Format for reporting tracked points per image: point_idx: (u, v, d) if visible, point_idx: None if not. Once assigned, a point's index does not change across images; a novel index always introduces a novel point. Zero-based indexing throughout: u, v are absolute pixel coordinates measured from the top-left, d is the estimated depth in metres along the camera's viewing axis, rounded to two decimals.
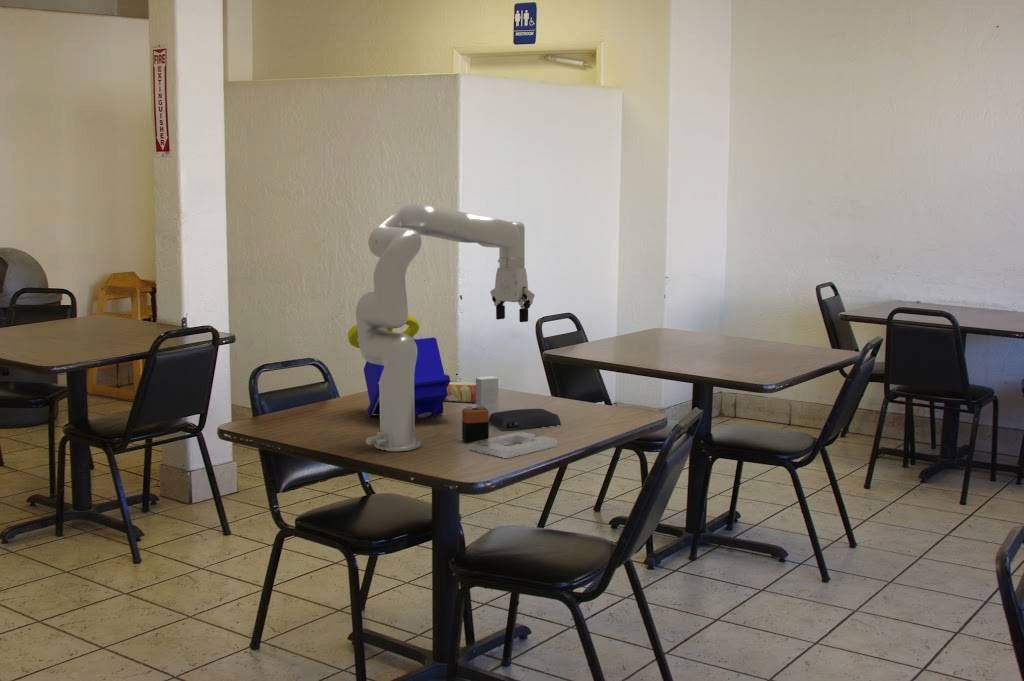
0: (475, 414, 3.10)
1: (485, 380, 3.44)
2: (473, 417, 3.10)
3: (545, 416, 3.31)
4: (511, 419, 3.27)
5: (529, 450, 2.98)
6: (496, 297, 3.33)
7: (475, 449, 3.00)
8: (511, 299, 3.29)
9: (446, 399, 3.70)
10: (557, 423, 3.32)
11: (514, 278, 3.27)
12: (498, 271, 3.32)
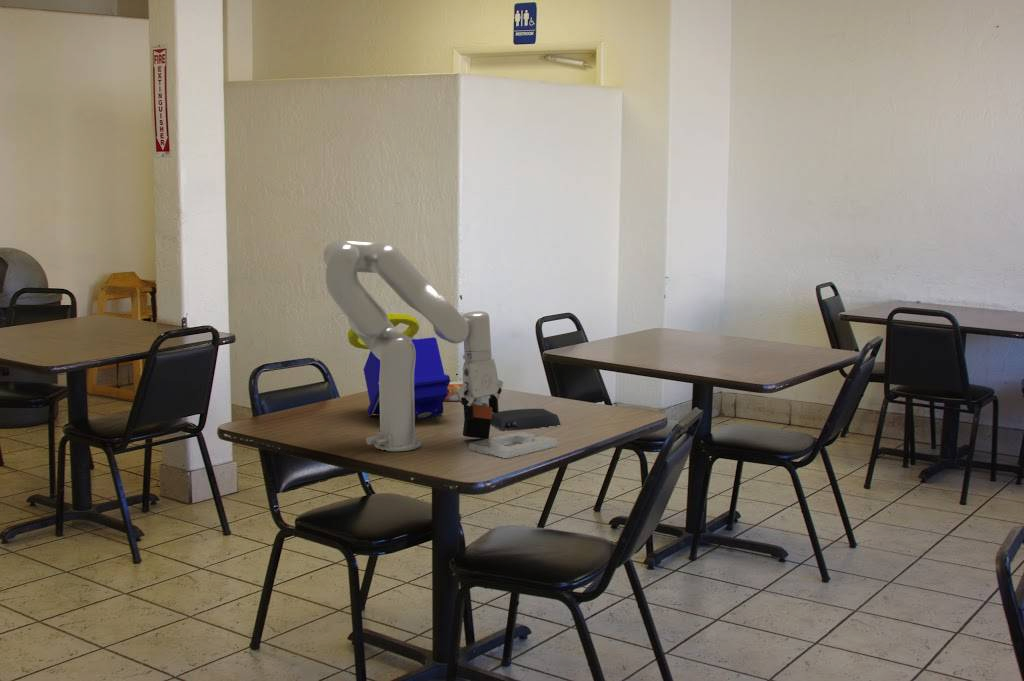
0: (478, 409, 3.11)
1: None
2: (477, 412, 3.11)
3: (544, 416, 3.31)
4: (510, 419, 3.27)
5: (529, 450, 2.98)
6: (477, 395, 3.07)
7: (475, 449, 3.00)
8: (493, 391, 3.12)
9: (448, 399, 3.70)
10: (556, 423, 3.32)
11: (494, 369, 3.11)
12: (476, 367, 3.07)
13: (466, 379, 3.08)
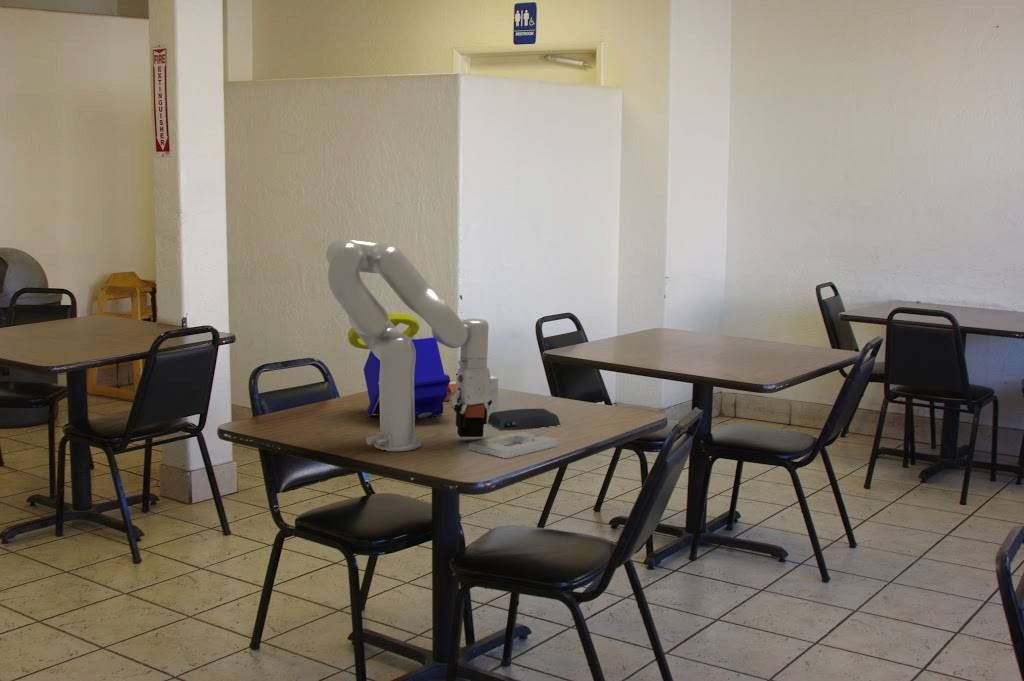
0: (470, 409, 3.10)
1: None
2: (469, 412, 3.10)
3: (544, 416, 3.31)
4: (509, 419, 3.27)
5: (529, 450, 2.98)
6: (469, 402, 3.07)
7: (475, 449, 3.00)
8: (485, 400, 3.11)
9: None
10: (556, 423, 3.32)
11: (488, 378, 3.11)
12: (471, 374, 3.06)
13: (459, 385, 3.07)
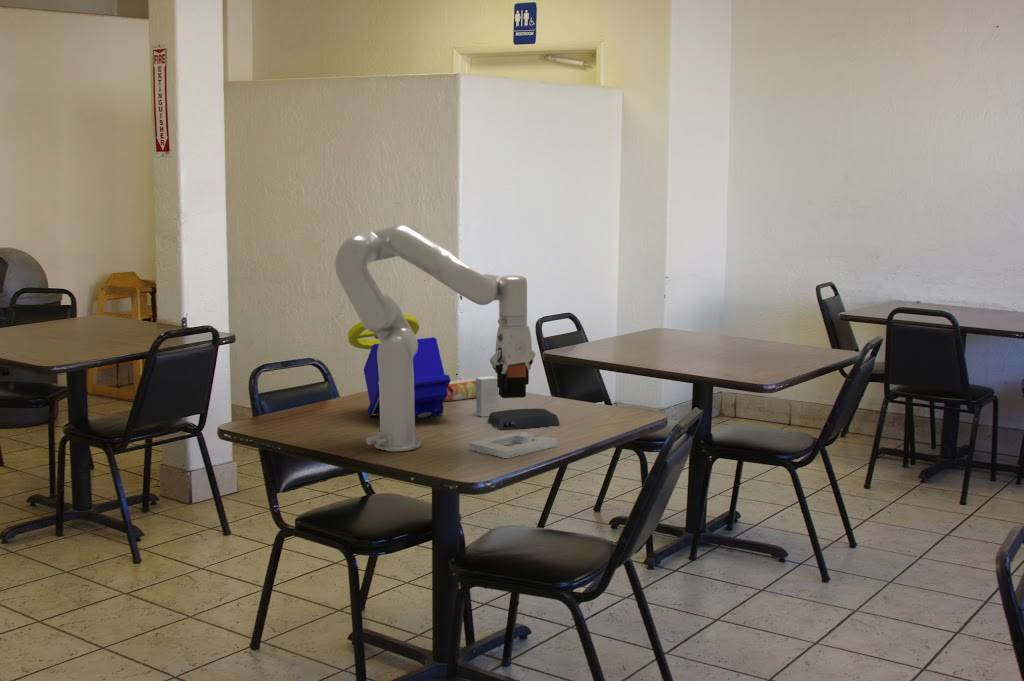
0: (511, 369, 2.99)
1: (485, 380, 3.44)
2: (510, 372, 2.99)
3: (543, 416, 3.31)
4: (508, 418, 3.27)
5: (529, 450, 2.98)
6: (510, 361, 2.96)
7: (475, 449, 3.00)
8: (526, 359, 3.01)
9: (452, 399, 3.71)
10: (556, 423, 3.32)
11: (528, 336, 3.01)
12: (511, 332, 2.96)
13: (500, 344, 2.97)
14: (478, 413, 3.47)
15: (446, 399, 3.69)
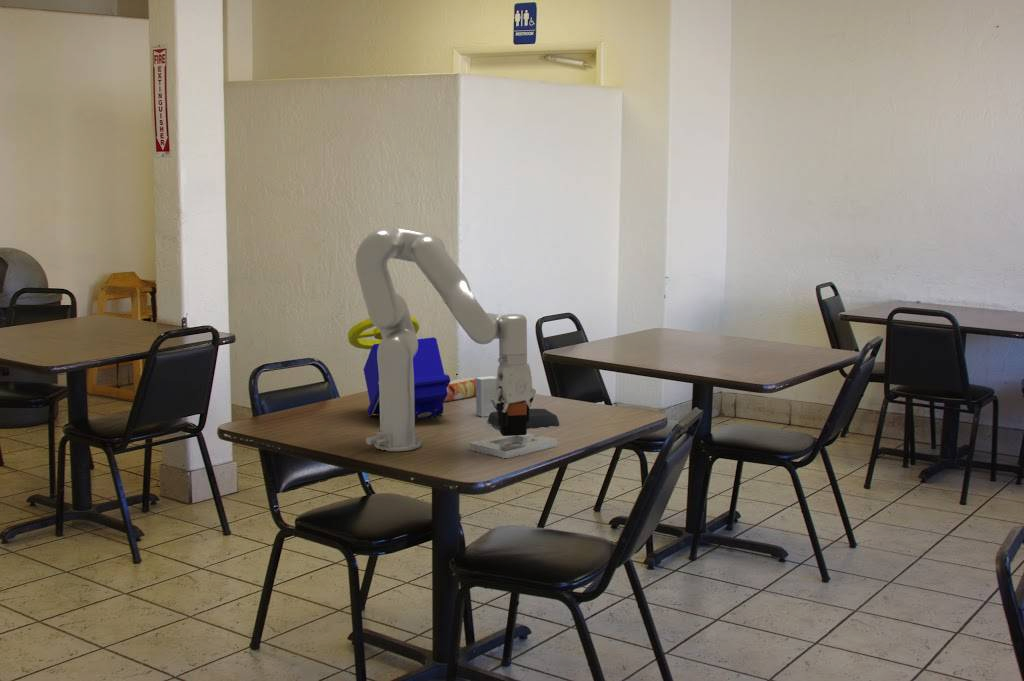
0: (512, 407, 3.00)
1: (485, 380, 3.44)
2: (511, 410, 3.00)
3: (543, 416, 3.31)
4: None
5: (529, 450, 2.98)
6: (510, 400, 2.98)
7: (475, 449, 3.00)
8: (527, 397, 3.02)
9: (453, 398, 3.71)
10: (555, 423, 3.32)
11: (529, 374, 3.02)
12: (511, 371, 2.97)
13: (500, 383, 2.98)
14: (478, 413, 3.47)
15: (448, 399, 3.69)
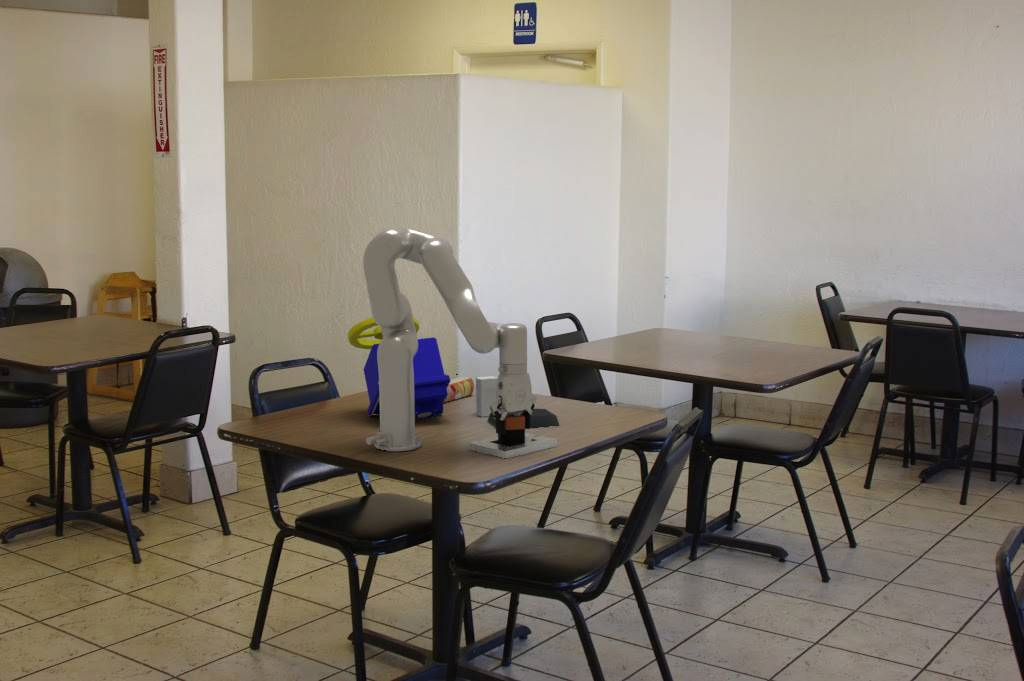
0: (510, 421, 3.01)
1: (485, 380, 3.44)
2: (509, 424, 3.01)
3: (542, 416, 3.31)
4: None
5: (529, 450, 2.98)
6: (510, 409, 2.98)
7: (475, 449, 3.00)
8: (527, 407, 3.02)
9: (454, 398, 3.71)
10: (555, 423, 3.32)
11: (529, 383, 3.02)
12: (511, 380, 2.97)
13: (500, 392, 2.98)
14: (478, 413, 3.47)
15: (450, 399, 3.70)
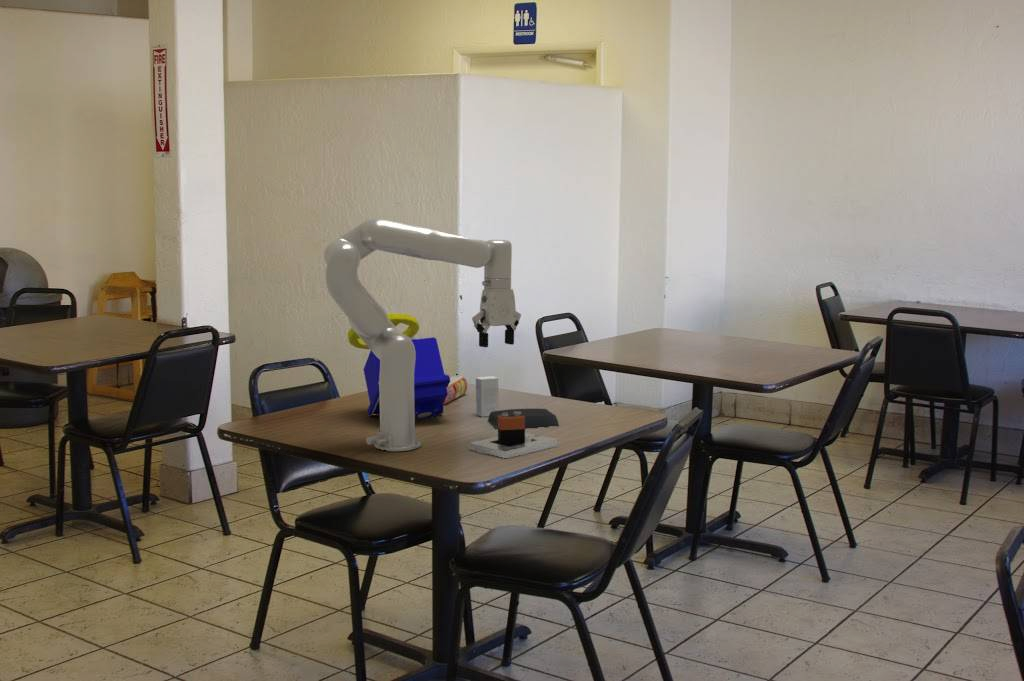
0: (510, 421, 3.01)
1: (485, 380, 3.44)
2: (509, 424, 3.01)
3: (542, 416, 3.31)
4: None
5: (529, 450, 2.98)
6: (493, 322, 3.06)
7: (475, 449, 3.00)
8: (510, 322, 3.10)
9: (454, 398, 3.72)
10: (554, 424, 3.32)
11: (512, 299, 3.10)
12: (494, 294, 3.05)
13: (483, 306, 3.06)
14: (478, 413, 3.47)
15: (452, 399, 3.70)
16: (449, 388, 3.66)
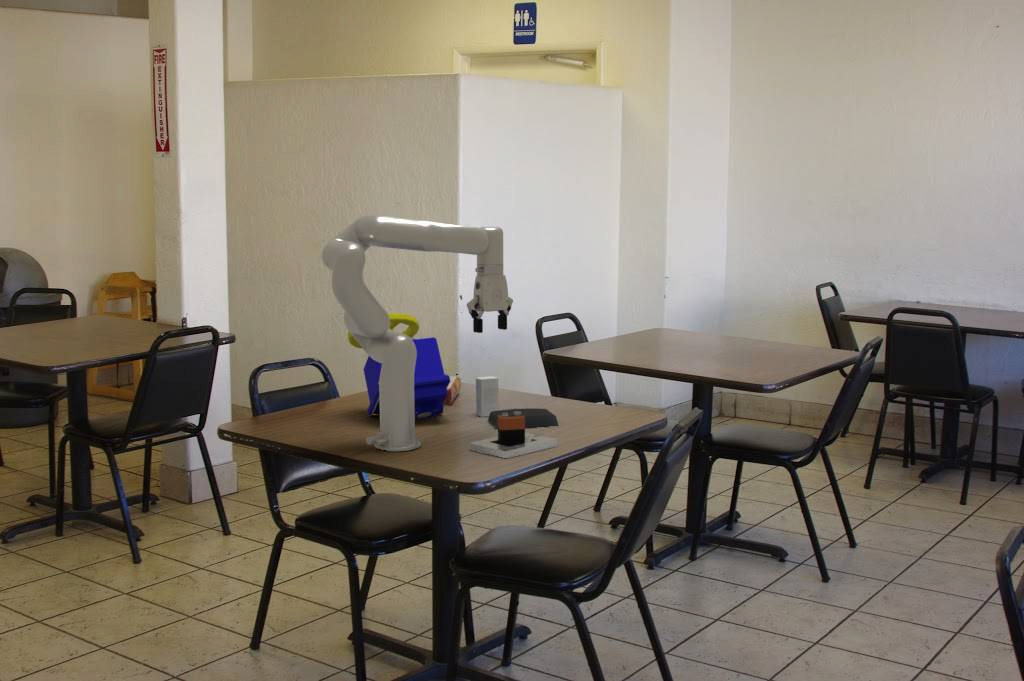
0: (510, 421, 3.01)
1: (485, 380, 3.44)
2: (509, 424, 3.01)
3: (541, 416, 3.31)
4: None
5: (529, 450, 2.98)
6: (487, 308, 3.10)
7: (475, 449, 3.00)
8: (503, 307, 3.15)
9: (454, 397, 3.73)
10: (554, 424, 3.32)
11: (505, 285, 3.15)
12: (488, 280, 3.10)
13: (477, 292, 3.11)
14: (478, 413, 3.47)
15: (454, 398, 3.71)
16: (453, 388, 3.67)
